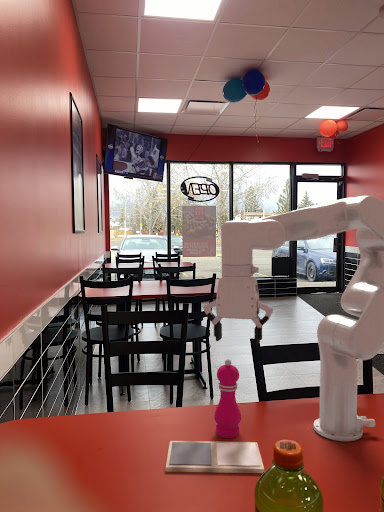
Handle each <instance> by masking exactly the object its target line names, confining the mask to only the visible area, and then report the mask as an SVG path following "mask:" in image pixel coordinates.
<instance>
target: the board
mask: <svg viewBox="0 0 384 512" xmlns="http://www.w3.org/2000/svg"><path fill="white" fill-rule="evenodd" d="M165 472H167V473H170V472H171V473H173V472H174V473H175V472H176V473H177V472H178V473H182V472H183V473H220V474H221V473H223V474H224V473H225V474H226V473H230V474H231V473H232V474H234V473H235V474H264V473H265V467H264V464H263V459H262V455H261V453H260V449H259V444H258V442H255V441H253V442H252V441H209V440H208V441H205V440H204V441H201V440H199V441H195V440H194V441H193V440H169V445H168V450H167V457H166V463H165ZM263 472H264V473H263Z"/></svg>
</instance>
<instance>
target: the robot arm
mask: <svg viewBox="0 0 384 512" xmlns="http://www.w3.org/2000/svg"><path fill="white" fill-rule="evenodd" d="M350 230H351V231H352V230H356V232H355V241H356V244H357V247H358V250H359V256H360V257H359V258H360V260H359V264H358V266H357V268H356V271H355V273H354V274H353V276H352V277H351V279H350V281H349V282H348V284H347V285H346V287H345V290H344V291H343V293H342V295H341V297H340V306H341V308H342V310H343V311H344V312H346V313H347V314H349V315H352V316H354V317H358V319H356V318H354V317H350V316H345V315H342V314H328V315H325V317H323V318H322V319H321V320H320V322H319V323H318V326H317V329H316V335H317V337H316V338H317V343H318V348H319V349H318V350H319V356H320V357H319V358H320V360H319V361H320V364H319V365H320V367H319V368H320V371H319V372H320V373H319V418H317V419H315V420H313V421H314V422H313V430H314V431H315V433H317V434H318V435H320V436H321V437H324V438H325V439H326V438H327V439H328V440H332V441H339V442H354V441H357V440H359V439H361V438H362V437H363V428H364V427H368V428H369V427H370V428H374V427H376V421H375V419H373V418H367V416H366V415H365V416H364V415H363V416H362V415H361V416H359V415H358V414H357V409H358V406H357V405H358V372H359V371H358V370H359V369H358V363H357V360H359V361H367V360H371V359H372V358H374V357H375V356H376V355H377V354H378V353H379V352H380V350H381V349H382V347H383V345H384V200H382V199H381V198H378V197H377V196H374V195H361V196H355V197H354V196H353V197H346V198H340V199H337V200H332V201H329V202H324V203H321V204H316V205H312V206H311V205H310V206H307V207H302V208H299V209H296V210H295V209H294V210H292V211H287V212H285V213H280V214H275V215H270V216H266V217H262V218H258V219H254V220H249V221H247V220H228V221H224V222H222V224H221V226H220V234H221V235H220V237H221V238H220V240H221V241H220V242H221V243H220V244H221V245H220V246H221V248H220V249H221V251H220V252H221V253H220V254H221V276H219V277H218V282H217V286H216V287H217V288H216V298H215V300H213V301H211V302H209V303H207V304H204V305H203V306H202V309H203V311H204V313H205V314H206V317H207V319H208V320H209V321H210V322H211V324H212V325H213V337H214V338H215V342H219V341H221V339H222V338H223V328H222V327H223V324H222V322H221V320H222V319H239V320H251V321H252V322H253V323H254V325H255V327H254V331H253V332H254V344H255V345H259V343H260V342H261V341H262V339H263V326H264V325H265V324H266V323H267V322H268V321H269V320H270V318H271V316H272V315H273V312H274V308H272V307H271V306H269V305H267V304H265V303H264V302H262V301H260V294H259V284H258V280H257V277H256V276H254V274H257V273H258V274H259V266H257V267H256V266H255V265H254V264H253V260H254V258H253V250H259V251H274V250H275V251H276V250H277V249H280V248H281V247H282V246H283V245H284V244H285V243H286V242H292V241H311V240H317V239H321V238H325V237H327V236H331V235H334V234H341V233H344V232H347V231H350ZM214 307H215V313H216V315H215V314H214V313H213V312H212V310H211V309H212V308H214ZM260 309H261V310H262V311H264V312H265V314H264V316H263V317H262V318H261V317H260V316H259V314H260Z"/></svg>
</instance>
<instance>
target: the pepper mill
mask: <svg viewBox="0 0 384 512" xmlns="http://www.w3.org/2000/svg"><path fill="white" fill-rule="evenodd" d="M216 378H217V380H218V381H219V382H218V389H219V391H220V395H219V396H220V398H219V402H218V404H217V406H216V408H215V411H214V416H213V418H214V421H215V423H216V425H215V433H216V435H218V436H219V437H221V438H226V439H232V438H235V437H236V438H237V437H238V436H239V435H240V426H239V424H240V423H241V422H242V413H241V410H240V407H239V405H238V402H237V400H236V392H237V390H238V381H239V379H240V372H239V370H238V368H237V367H236V366H235V365H233V364H232V360H231V359H229V358H226V359H225V360H224V364H223V365H221V366H219V367H218V369H217V372H216Z"/></svg>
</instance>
